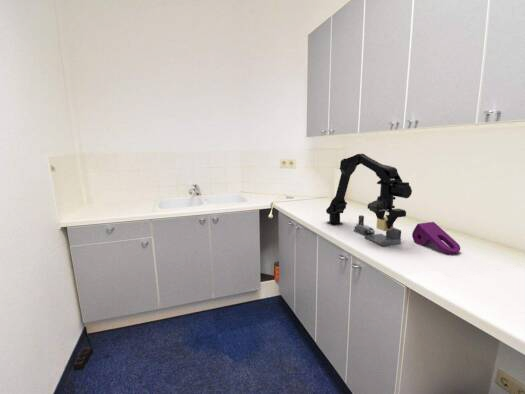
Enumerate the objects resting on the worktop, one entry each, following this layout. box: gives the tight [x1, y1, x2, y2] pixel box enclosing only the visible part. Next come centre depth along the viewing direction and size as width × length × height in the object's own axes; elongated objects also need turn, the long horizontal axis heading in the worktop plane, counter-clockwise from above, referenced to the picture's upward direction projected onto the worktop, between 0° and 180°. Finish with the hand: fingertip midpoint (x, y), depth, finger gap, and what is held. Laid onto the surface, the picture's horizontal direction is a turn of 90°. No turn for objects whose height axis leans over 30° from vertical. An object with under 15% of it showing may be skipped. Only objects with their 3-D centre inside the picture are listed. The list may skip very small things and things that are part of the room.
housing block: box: [376, 216, 394, 232], centre depth 126 cm, size 5×5×5 cm
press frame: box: [352, 225, 402, 248], centre depth 134 cm, size 24×12×6 cm, turn 18°
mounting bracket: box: [411, 221, 461, 256], centre depth 120 cm, size 9×8×18 cm
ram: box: [355, 215, 376, 234], centre depth 139 cm, size 12×3×7 cm, turn 18°
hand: (384, 227), depth 126 cm, fingers closed on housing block, 5 cm apart
